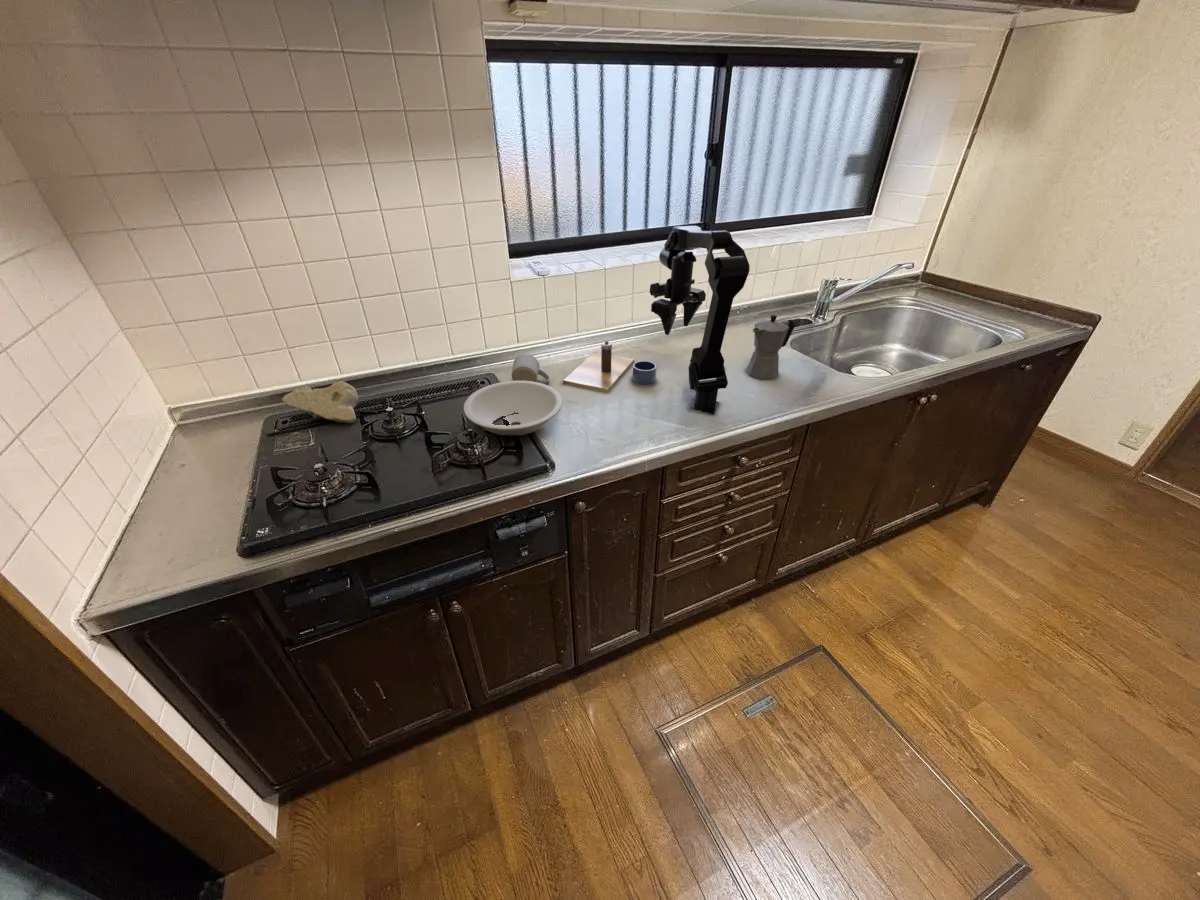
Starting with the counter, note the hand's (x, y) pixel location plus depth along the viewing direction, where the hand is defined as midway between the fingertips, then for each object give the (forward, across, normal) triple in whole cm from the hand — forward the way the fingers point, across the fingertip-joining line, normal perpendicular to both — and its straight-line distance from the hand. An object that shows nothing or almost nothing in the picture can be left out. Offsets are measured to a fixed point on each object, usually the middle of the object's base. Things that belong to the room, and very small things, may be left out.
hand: (676, 330), depth 145 cm
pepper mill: (+12, +15, -13) cm, 24 cm away
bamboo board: (+13, +16, -15) cm, 26 cm away
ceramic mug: (+13, +35, -26) cm, 45 cm away
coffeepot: (+13, -18, +21) cm, 31 cm away
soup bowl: (+13, +53, -11) cm, 55 cm away
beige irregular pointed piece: (+13, +84, -48) cm, 98 cm away
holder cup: (+13, +11, -2) cm, 17 cm away
